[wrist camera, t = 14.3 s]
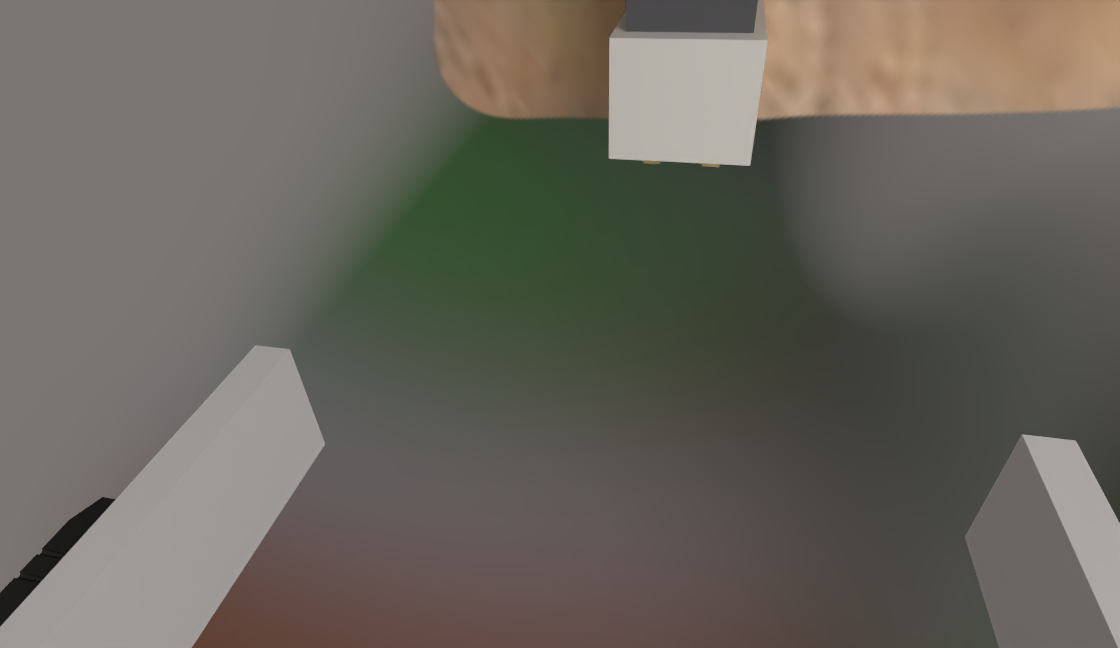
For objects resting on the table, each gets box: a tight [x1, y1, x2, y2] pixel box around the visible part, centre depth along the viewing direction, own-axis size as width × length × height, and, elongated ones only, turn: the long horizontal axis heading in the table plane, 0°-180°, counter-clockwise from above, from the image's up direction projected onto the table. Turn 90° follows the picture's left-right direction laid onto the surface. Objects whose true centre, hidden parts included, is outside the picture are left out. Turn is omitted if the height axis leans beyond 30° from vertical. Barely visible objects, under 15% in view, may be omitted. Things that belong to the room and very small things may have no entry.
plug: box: [609, 0, 768, 167], centre depth 28 cm, size 14×6×8 cm, turn 2°
